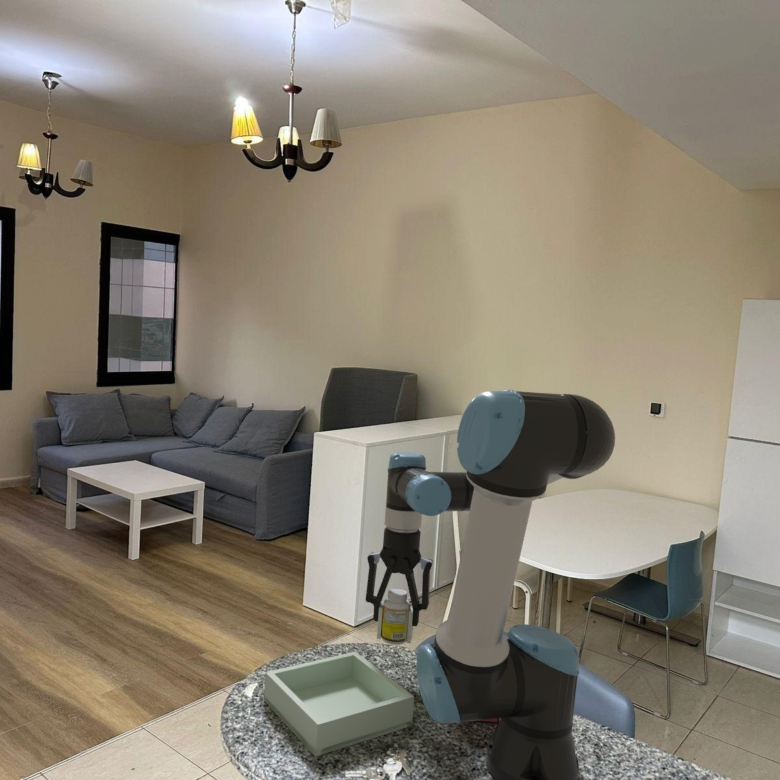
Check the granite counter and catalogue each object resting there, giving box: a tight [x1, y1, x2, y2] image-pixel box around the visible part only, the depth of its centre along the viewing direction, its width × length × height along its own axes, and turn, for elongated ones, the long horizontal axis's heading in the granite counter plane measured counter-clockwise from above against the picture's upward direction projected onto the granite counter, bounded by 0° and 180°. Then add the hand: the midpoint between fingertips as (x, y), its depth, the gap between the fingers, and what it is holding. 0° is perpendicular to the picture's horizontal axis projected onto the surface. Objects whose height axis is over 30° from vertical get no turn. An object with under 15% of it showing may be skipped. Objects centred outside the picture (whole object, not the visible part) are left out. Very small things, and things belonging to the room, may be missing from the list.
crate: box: [263, 651, 415, 757], centre depth 131 cm, size 20×20×6 cm
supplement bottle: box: [381, 588, 411, 646], centre depth 146 cm, size 6×6×10 cm
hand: (394, 638), depth 147 cm, fingers closed on supplement bottle, 5 cm apart
